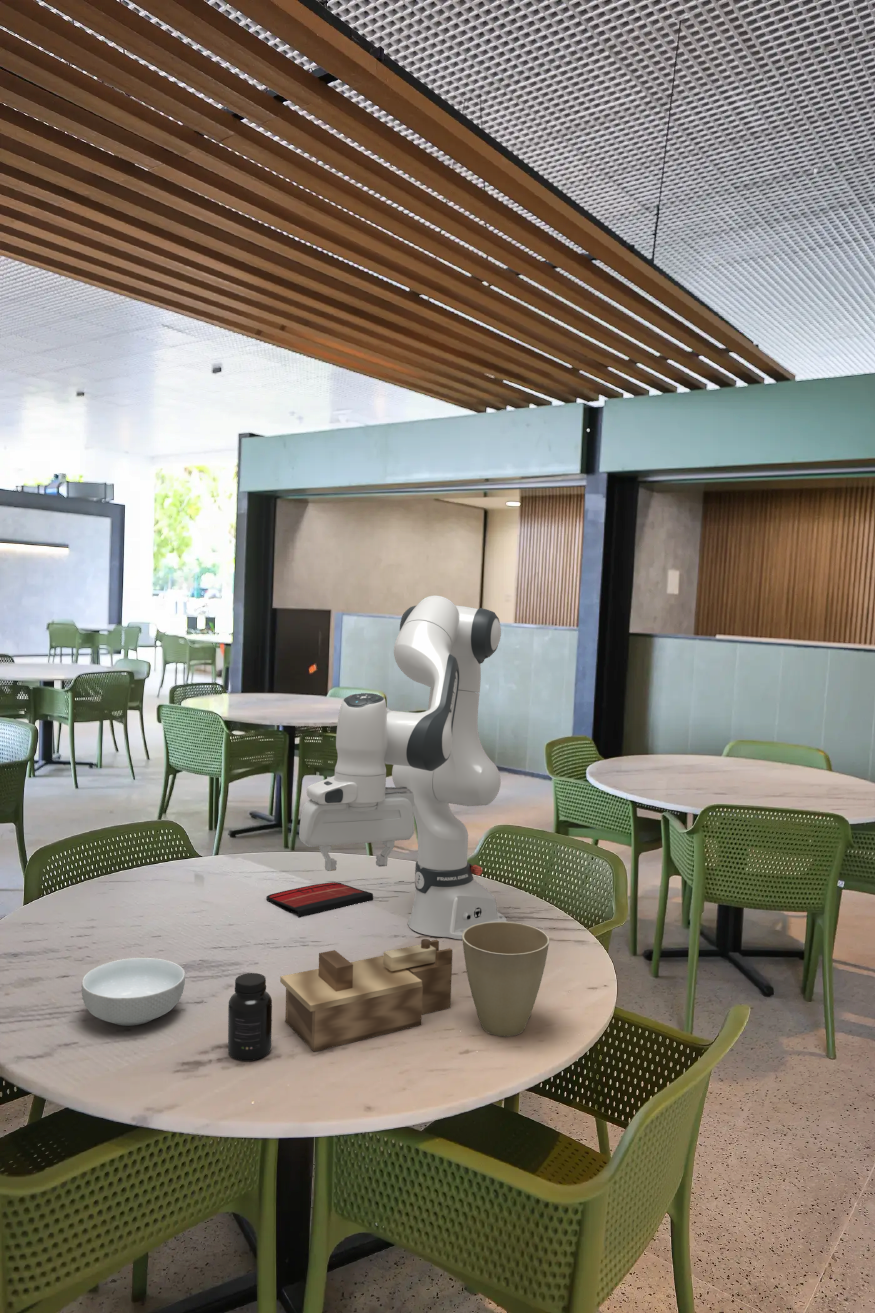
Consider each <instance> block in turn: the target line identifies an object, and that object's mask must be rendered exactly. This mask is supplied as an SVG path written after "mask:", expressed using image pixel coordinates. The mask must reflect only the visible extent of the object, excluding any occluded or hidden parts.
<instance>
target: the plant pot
mask: <svg viewBox="0 0 875 1313" xmlns="http://www.w3.org/2000/svg"><path fill="white" fill-rule="evenodd" d="M461 940H462V948H463V949H462V950H463V954H464V955H463V956H464V963H465V964H464V965H465V969H466V975H467V979H468V983H469V988H470V992H471V993H470V994H471V996H472V1000H473V1004H474V1007H475V1009H476V1013H477V1016H478V1019H479V1022H480V1024H481V1027H482V1029H483V1030H484V1031H485V1032H486V1033H488V1034H491V1035H494V1036H498V1037H513V1036H517V1035H519V1034H521V1033H522V1032H524V1030H525V1028H526V1026H527V1024H528V1022H529V1019H530V1016H531V1014H532V1012H533V1009H534V1005H535V1002H536V1000H537V997H538V994H539V990H540V987H541V982H542V979H543V977H544V976H543V975H544V972H545V968H546V967H545V966H546V962H547V957H548V952H549V945H550V937H549V935H547V933H545V931H543V930H542V929H539V928H537V927H535V926H532V925H529V924H526V923H520V922H516V921H515V922H514V921H507V922H486V923H480V924H476V925H473V926H471V927H469V928H467V929H466V930H465V931H464V932H463V934H462V939H461Z"/></svg>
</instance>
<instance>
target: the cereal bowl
mask: <svg viewBox="0 0 875 1313" xmlns="http://www.w3.org/2000/svg"><path fill="white" fill-rule="evenodd" d="M185 982H186V972H185V969H184V968H183V967H182V966H181V965H179V964H177V963H175V962H173V961H171V960H168V959H163V958H156V957H130V958H122V959H117V960H113V961H109V962H105V963H103V964H100V965H98V966H96V967H94V968H92V969H91V970H89V971H88V972H87V973H85V975H84V977H83V978H82V981H81V996H82V997H81V998H82V1001H83V1004H84V1007H85V1008H86V1010H87V1011H88V1012H89V1013H90V1014H91V1015H93V1017H96V1018H97V1019H99V1020H102V1021H105V1022H106V1023H112V1024H114V1025H118V1026H124V1027H126V1026H127V1027H128V1026H131V1027H132V1026H138V1025H139V1026H140V1025H143V1024H146V1023H148V1022H151V1021H152V1020H155V1019H157V1018H159V1017H162V1016H164V1015H166V1014H167V1013H168V1012H170V1011H171V1010H173V1008H175V1006H176V1005H177V1004H178V1003H179V1001H180V999H181V997H182V996H183V994H184V990H185Z"/></svg>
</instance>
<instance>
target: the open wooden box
mask: <svg viewBox="0 0 875 1313" xmlns="http://www.w3.org/2000/svg"><path fill="white" fill-rule="evenodd" d="M430 945H431V946H433V947H434V948H436V960H435V962H433V963H428V964H424V965H419V966H414V967H409V968H405V969H406V970H408V971H409V972H411V973H412V974H413V975H415V976H416V977H417V978H419V979H420V980H422V987H417V988H413V989H408V990H404V991H400V992H395V993H391V994H386V995H382V996H377V997H373V998H369V999H364V1000H360V1001H355V1002H351V1003H346V1004H342V1005H338V1006H333V1007H329V1008H324V1009H320V1010H315V1011H311V1012H310V1011H309V1010H308V1009H307V1008H306V1007H305V1006H304V1005H303V1004H302V1003H301V1002H300V1001H299V1000H298V999H297V998H296V997H295V996H294V995H293V994H292V993H291V992H290V991H289V990H288V989H287V988H286V987H285V1018H284V1020H285V1022H286V1024H287V1025H288V1026H289V1027H290V1028H291V1029H292V1030H293V1031H294V1032H295V1033H296V1034H297V1036H298V1037H299V1038H301V1040H302V1041H303V1042H304V1043H305V1044H306V1045H307V1046H308V1048H309V1049H310V1050H312V1052H314V1053H315V1052H319V1051H323V1050H327V1049H332V1048H335V1047H340V1046H343V1045H347V1044H352V1043H355V1042H359V1041H363V1040H366V1039H371V1038H375V1037H379V1036H383V1035H387V1034H391V1033H392V1034H393V1033H395V1032H399V1031H402V1030H403V1031H404V1030H407V1029H412V1028H415V1027H420V1026H422V1019H423V1018H422V1016H423V1015H427V1014H431V1013H435V1012H438V1011H443V1010H447V1009H451V1000H452V976H453V975H452V974H453V973H452V972H453V949H452V948H451V947H449V948H445V949H439V948H440V940H438V939H432V940H430Z"/></svg>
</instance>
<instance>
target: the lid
mask: <svg viewBox="0 0 875 1313" xmlns="http://www.w3.org/2000/svg"><path fill="white" fill-rule="evenodd" d="M279 978H280V979H279V980H280V984H282V985H283V986H284V987H285V989H286V988H287V989H288V990H289V991H290V992H291V993H292V994H293V995H294V996H295V997H296V998H297V999H298V1000H299V1001H300V1002H301V1003H302V1004H303V1005H304V1006H305V1007H306V1008H307V1009H308V1010H309V1011H310V1012H311V1011H315V1010H320V1009H324V1008H329V1007H333V1006H338V1005H342V1004H346V1003H351V1002H355V1001H360V1000H364V999H369V998H373V997H377V996H382V995H386V994H391V993H395V992H400V991H404V990H408V989H413V988H417V987H422V980H420V979H419V978H417V977H416V976H415V975H413V974H412V973H411V972H409V971H408V970H406V969H400V970H395V971H390V970H389V969H388V968H386V967H385V966H384V965H383V955H380V956H376V957H375V956H374V957H371V958H370V957H369V958H365V959H360V960H359V959H358V960H355V961H350V960H348V959H347V958H346V957H344V956H343V955H342V954H340V953H339V952H338V951H337V950H335V949H333V950H329V951H324V952H319V953H318V968H316V969H310V970H306V971H300V972H295V973H290V974H284V975H280V977H279Z"/></svg>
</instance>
